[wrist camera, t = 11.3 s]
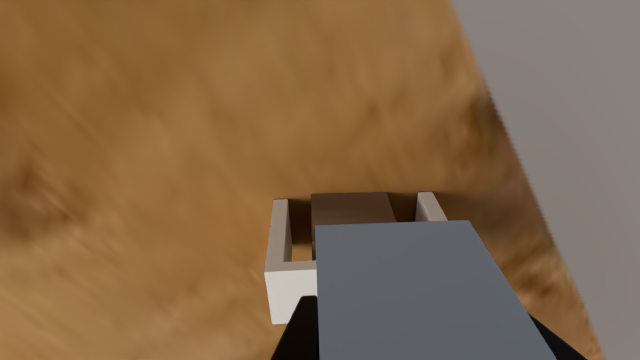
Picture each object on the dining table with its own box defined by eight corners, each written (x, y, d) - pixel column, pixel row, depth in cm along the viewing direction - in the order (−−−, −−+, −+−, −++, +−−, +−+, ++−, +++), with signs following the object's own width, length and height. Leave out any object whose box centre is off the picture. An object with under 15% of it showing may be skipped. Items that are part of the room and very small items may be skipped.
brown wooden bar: (369, 359, 26) (378, 420, 23) (314, 361, 26) (315, 422, 23) (385, 189, 19) (402, 239, 16) (310, 191, 19) (311, 241, 16)
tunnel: (425, 238, 20) (458, 313, 16) (279, 245, 20) (272, 324, 16) (432, 191, 19) (470, 261, 15) (273, 199, 19) (264, 272, 14)
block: (445, 322, 12) (503, 473, 8) (318, 328, 12) (323, 482, 8) (468, 219, 10) (559, 362, 6) (314, 225, 10) (320, 372, 6)
